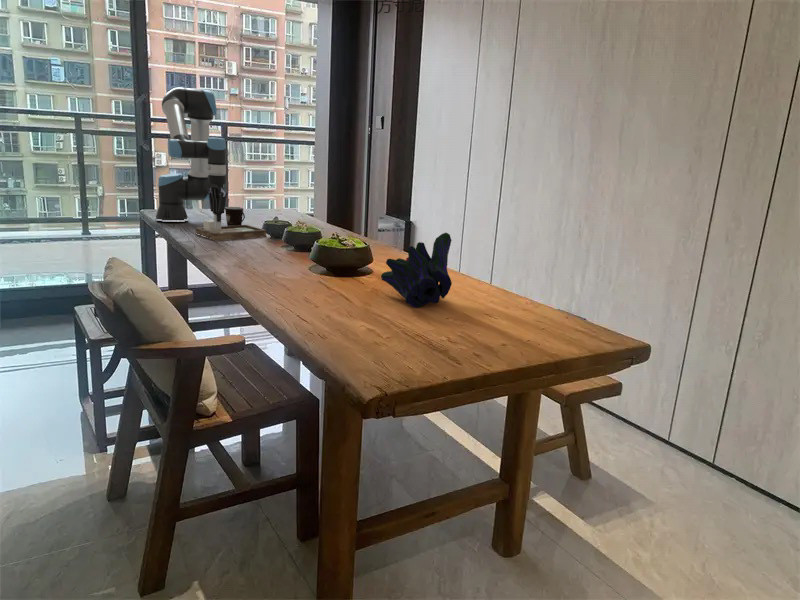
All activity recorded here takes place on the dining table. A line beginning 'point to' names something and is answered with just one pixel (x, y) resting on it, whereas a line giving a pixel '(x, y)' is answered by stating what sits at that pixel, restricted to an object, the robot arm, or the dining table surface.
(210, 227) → the block
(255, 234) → the tray
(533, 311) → the dining table surface
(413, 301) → the dark blue branching piece
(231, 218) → the coffee mug
